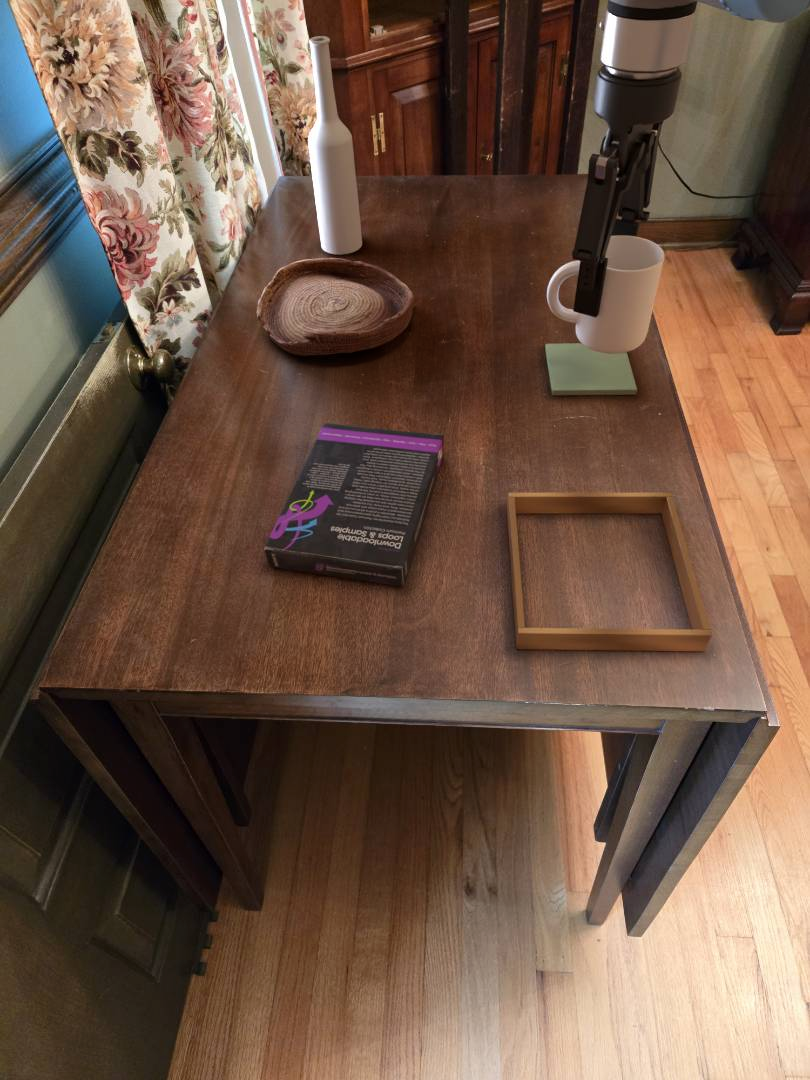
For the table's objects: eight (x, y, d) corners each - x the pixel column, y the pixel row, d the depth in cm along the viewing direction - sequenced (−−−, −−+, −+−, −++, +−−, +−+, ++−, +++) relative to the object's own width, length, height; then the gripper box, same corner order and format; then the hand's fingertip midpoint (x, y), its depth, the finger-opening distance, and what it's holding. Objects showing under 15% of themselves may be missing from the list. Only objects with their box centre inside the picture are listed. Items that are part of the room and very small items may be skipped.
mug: (539, 350, 85) (548, 266, 77) (546, 313, 90) (554, 231, 82) (645, 359, 83) (665, 273, 75) (646, 320, 88) (664, 237, 80)
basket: (230, 324, 102) (222, 291, 98) (336, 269, 111) (332, 237, 107) (339, 387, 91) (334, 353, 87) (445, 320, 100) (445, 287, 96)
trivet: (636, 394, 87) (637, 389, 87) (552, 395, 88) (552, 390, 87) (623, 347, 94) (624, 342, 93) (545, 348, 94) (545, 343, 94)
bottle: (352, 231, 119) (331, 29, 99) (369, 247, 115) (352, 40, 94) (315, 241, 117) (286, 37, 97) (331, 258, 113) (305, 49, 93)
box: (327, 444, 84) (266, 569, 71) (323, 420, 82) (259, 545, 69) (445, 458, 81) (403, 590, 69) (445, 433, 79) (401, 566, 66)
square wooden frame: (665, 509, 74) (671, 492, 72) (704, 651, 63) (712, 635, 61) (506, 509, 75) (508, 492, 73) (516, 649, 64) (518, 633, 62)
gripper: (642, 31, 73) (606, 248, 90) (553, 96, 62) (531, 330, 79) (717, 39, 70) (665, 261, 87) (638, 108, 59) (596, 349, 76)
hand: (601, 294), depth 83 cm, fingers closed on mug, 8 cm apart
